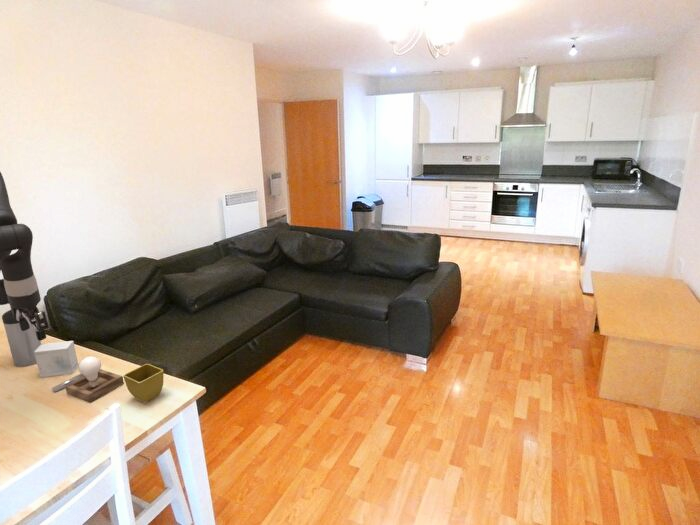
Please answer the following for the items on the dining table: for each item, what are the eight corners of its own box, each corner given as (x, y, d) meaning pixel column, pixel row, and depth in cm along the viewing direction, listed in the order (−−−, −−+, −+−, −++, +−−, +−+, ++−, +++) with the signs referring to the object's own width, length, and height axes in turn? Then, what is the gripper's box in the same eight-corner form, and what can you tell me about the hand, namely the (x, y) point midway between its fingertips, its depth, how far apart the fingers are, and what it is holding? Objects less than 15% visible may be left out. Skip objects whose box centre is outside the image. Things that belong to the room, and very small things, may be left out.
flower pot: (168, 394, 138) (164, 369, 135) (143, 408, 130) (139, 382, 128) (151, 386, 142) (147, 363, 139) (126, 400, 135) (122, 375, 132)
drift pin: (56, 392, 139) (54, 388, 139) (52, 391, 140) (51, 386, 139) (87, 376, 149) (86, 372, 148) (84, 375, 149) (83, 371, 149)
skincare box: (39, 378, 148) (33, 351, 145) (47, 369, 154) (41, 343, 151) (72, 374, 150) (66, 347, 147) (79, 365, 156) (73, 339, 154)
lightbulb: (95, 393, 137) (88, 363, 134) (79, 391, 138) (71, 361, 135) (109, 382, 143) (103, 353, 140) (93, 380, 144) (87, 352, 141)
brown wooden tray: (66, 394, 138) (64, 386, 137) (101, 376, 149) (99, 368, 148) (90, 403, 133) (88, 394, 132) (123, 383, 144) (122, 376, 143)
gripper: (-7, 286, 123) (7, 332, 130) (22, 302, 118) (34, 348, 125) (21, 277, 129) (33, 321, 136) (50, 291, 124) (60, 336, 131)
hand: (33, 334), depth 131 cm, fingers open, 8 cm apart
